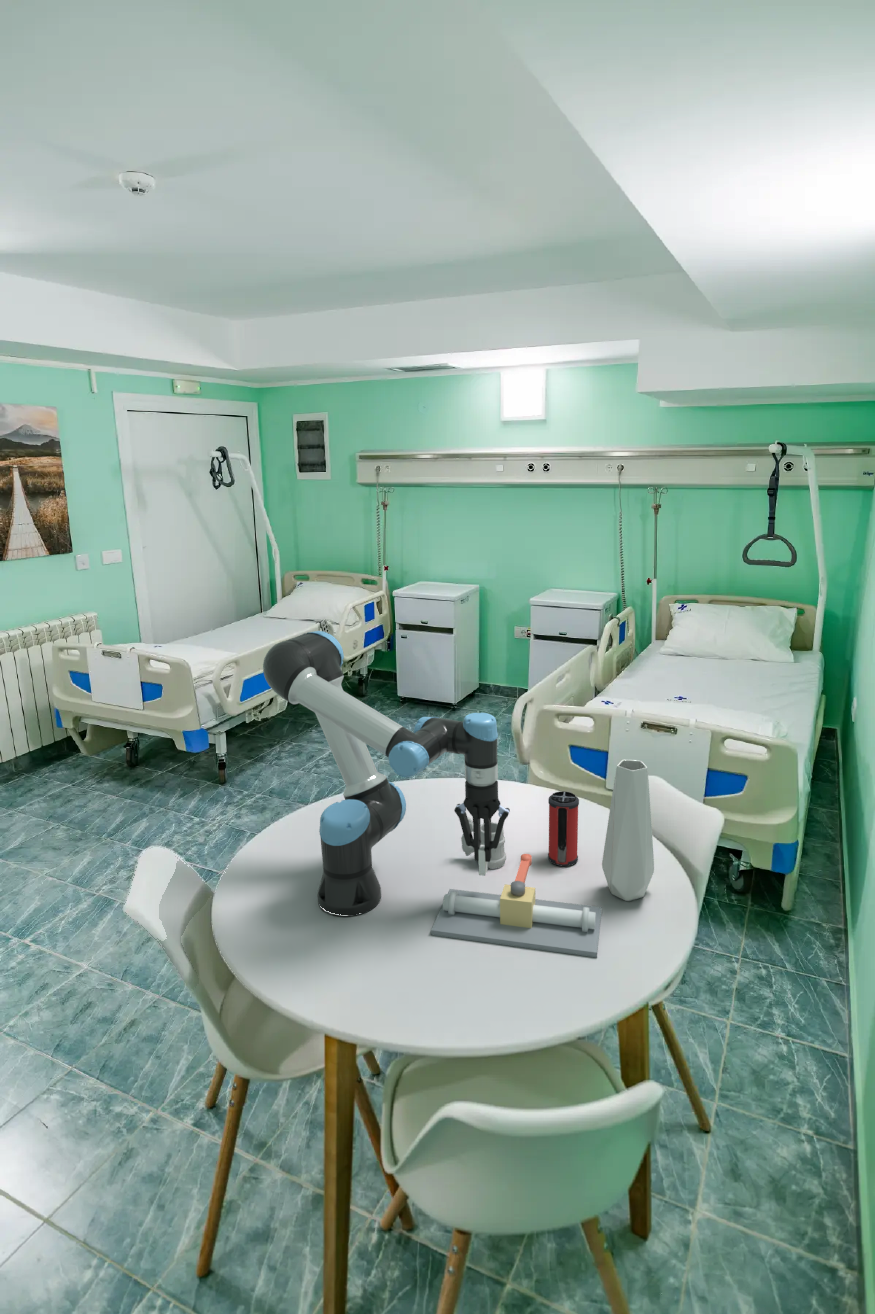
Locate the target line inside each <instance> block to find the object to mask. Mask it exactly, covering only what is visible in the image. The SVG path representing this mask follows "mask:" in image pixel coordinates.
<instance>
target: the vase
mask: <svg viewBox="0 0 875 1314" xmlns="http://www.w3.org/2000/svg"><path fill="white" fill-rule="evenodd" d="M613 781H614V782H613V788H612V795H611V801H610V808H609V814H608V820H607V821H608V822H607V825H606V826H607V827H606V832H605V841H604V848H603V854H602V860H601V861H602V862H601V867H602V871H603V875H604V877H605V880H606V883H607V887H608V889H609V892H610V893H611V895H613V896H615V897H617V898H618V899H620V900H623V901H625V902H632V901H635V900H638V899H641V898H644V897H645V895H646V892H647V890H648V888H649V885H650V883H651V880H652V878H653V875H654V873H655V859H654V845H653V844H654V843H653V842H654V841H653V827H652V814H651V813H652V811H651V801H650V800H651V799H650V798H651V797H650V796H651V795H650V794H651V793H650V782H649V770H648V766H647V765H646V764H645V763H644V762H643V761H642V760H639V759H621V761H619V763H618V764H617V765H616V769H615V774H614V780H613Z"/></svg>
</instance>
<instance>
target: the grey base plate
mask: <svg viewBox="0 0 875 1314" xmlns="http://www.w3.org/2000/svg"><path fill="white" fill-rule="evenodd" d="M602 909H603V907H602V906H598V905H597V906H595V905H588V904H587V905H586V904H581V903H580V904H579V903H571V902H563V901H562V902H561V901H554V900H546V899H537V898H536V887H531V886H530V887H529V886H525V894H524V895H522V896H515V895H513V894H511V884H504V885H503V889H502V891H501V894H497V893H496V894H495V893H487V892H481V891H480V892H479V891H469V890H462V889H455V888H449V890H448V893H445V894H444V895H443V901H442V905H441V908H440V910H439V912H438V913H437V916H436V918H435V921H434V923H433V924H432V927H431V930H430V933H431V936H437V937H445V938H450V939H451V938H452V939H456V940H457V939H459V940H466V941H467V940H468V941H473V942H474V941H475V942H481V943H487V944H495V945H504V946H510V947H511V946H512V947H515V948H516V947H517V948H525V949H531V950H539V951H545V952H546V951H548V952H555V953H560V954H569V955H575V956H583V957H591V958H598V952H599V950H598V949H599V940H600V930H601V921H602V920H601V919H602V918H601V917H602V911H603V910H602Z"/></svg>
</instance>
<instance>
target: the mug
mask: <svg viewBox="0 0 875 1314" xmlns="http://www.w3.org/2000/svg"><path fill="white" fill-rule="evenodd" d="M467 818H468V821H469V825H470V829H471V832H472V833H473V819H471V818H470V817H469V816H467ZM497 825H498V822H492V821H491V836H492V841H493V840H494V837H495V833H496V829H497ZM504 834H505V832H504V828H503V829H502V833H501V837H500V841H499V844H498V846H497V848H496V849H494V848H492V849H491V860H490V862H487V870H489V869H490V870H494V869H495V870H496V869H500V868H502V867H503V866H504V865H505V864H506V860H507V853H506V852H505V843H506V838H505V835H504ZM460 841H461V849H462V851H463V852H464V854H465V856H466V857H469V856H470V855H471V854H474V848H473V847H472V846H467V845H466V842H465V838H464V834H463V833H462V836H461V840H460ZM480 845H485V843H484V822H483V823H481V844H480ZM477 864H479V861H477Z"/></svg>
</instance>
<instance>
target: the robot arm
mask: <svg viewBox="0 0 875 1314" xmlns="http://www.w3.org/2000/svg"><path fill="white" fill-rule="evenodd" d="M344 657H345V655H344V651H343V647H342V644H341V643H340V642H339V641H338V639H337V638H335V637H334V635H332V634H330V633H328V632H326V631H323V630H315V631H310V632H305V633H303V634H300V635H297V636H295V637H292V638H290V639H286V640H283V641H279V642H278V643H276V644H274V645H273V646H272V647H271V648H269V649H268V651H267V653H266V655H265V657H264V659H263V664H262V670H263V671H262V672H263V676H264V678H265V679H264V680H265V681H266V683H267V685H268V686H269V687H270V688H271V689H272V690H273V692H274V693H275V694H276V695H278V696H279V697H280V698H282V699H284V700H285V701H287V702H288V703H290V704H292V705H298V704H299V705H302V707H304V708H306V709H308V710H310V711H312V712H313V713H314V714H315V715H316V718H317V721H318V723H319V725H320V728H321V730H322V732H323V734H324V737H325V740H326V742H327V744H328V747H329V749H330V751H331V754H332V756H333V758H334V760H335V763H336V765H337V767H338V768H337V769H338V770H339V772H340V775H341V777H342V779H343V783H344V784H345V789H344V791H343V795H342V796H343V798H344V799H342V800H341V801H336V802H334V803H331V804H330V805H329V806H327V807H326V808H325V809H324V810H323V811H322V812H321V815H320V818H319V831H318V832H319V835H320V846H321V859H322V871H323V873H322V876H321V880H320V884H319V886H318V890H317V903H318V902H319V904H320V906H321V907H322V908H324V909H325V910H326V911H329V912H331V913H335V914H339V915H340V914H341V915H355V916H357V915H356V914H359V913H363V914H365V912H366V913H368V912H369V911H372V910H373V909H374V908H376V907H377V906H378V905H379V904H380V902H381V898H382V887H381V884H380V882H379V880H378V879H379V878H377V875H376V873H375V870H374V867H373V861H372V860H373V856H372V849H373V847H374V846H375V845H377V844H378V843H379V842H380V841H381V840H382V839H384V838H385V837H386V836H387V835H388V834H389V833H391V832H392V831H394V830H395V829H396V828H397V827H398V826H399V824H400V823H401V822H402V821H403V819H404V817H405V815H406V812H407V801H406V797H405V795H404V792H403V791H402V789H401V788H400V787H399V786H397V785H395V783H393V782H391V781H388V778H387V775H385V774H383V773H380V772H378V770H377V768H376V765H375V762H374V760H373V757H372V755H371V753H370V751H369V749H368V746H369V747H370V748H372V749H373V750H375V751H377V752H379V753H380V754H382V755H384V756H385V757H387V758H388V763H389V764H388V765H389V766H390V768H391V769H392V770H393V772H394V773H395V774H396V775H397V776H399V777H404V778H411V777H413V776H416V775H417V774H420V773H421V772H423V771H424V770H426V768H427V767H429V765H430V764H431V763H433V762H434V761H436V760H437V759H438V758H440V757H442V756H443V754H445V753H450V754H457V755H463V756H464V757H463V758H464V779H465V781H464V787H465V788H464V790H465V791H464V792H465V793H464V794H465V798H464V800H463V801H462V803H457V804H456V806H455V808H454V813H455V814H456V815H457V817H458V821H459V824H460V827H461V831H462V835H463V834H464V838H465V842H466V845H467V846H472V847H473V848H474V852H473V856H474V860H475V861H476V862H478V861H479V863H478V875H479V876H482V877H484V876H486V875H487V872H488V869H487V862H490V860H491V849H492V848H494V849H496V848H497V846H498V844H499V841H500V837H501V833H502V829H503V830H504V824H505V820H506V819H507V818H508V816H509V815H510V812H511V811H510V808H509V807H506V808H505V807H504V806H502V805H501V801H500V799H499V781H498V778H499V771H498V770H499V769H498V768H499V766H498V765H499V764H498V736H499V734H498V726H497V724H498V723H497V718H496V717H495V716H494V715H492V714H491V713H487V712H473V713H472V712H471V713H469V714H467V715H465V716H464V718H463V720H455V719H448V718H441V717H438V716H422V717H420V718H419V719H418V720H417V721H416V723H415V725H414V728H413V731H412V730H410V729H408V728H406V727H404V726H403V725H401V724H399V723H398V722H396V721H395V720H392V719H391V718H389V717H388V716H386V715H384V714H383V713H381V712H379V710H378V711H377V710H376V709H374V708H372V707H371V706H369V705H368V704H366V703H364V702H362V701H361V700H359V699H357V698H356V697H354V696H353V695H351V694H349V693H348V692H346V691H344V689H343V686H342V682H343V680H344V677H345V676H344V673H343V671H342V669H341V668H342V666H343V664H344ZM497 811H498V813H497ZM467 812H468V813H469V814H470V816H471V817H472V821H473V832H471V829H470V825H469V821H468V815H467ZM495 813H497V815H498V817H499V819H498V822H497V823H498V825H497V829H496V833H495V837H494V840H493V841H492V836H491V822H492V817H493V816H494V815H495ZM481 819H482V820H483V823H484V843H485V845H480V844H481V824H482V823H481ZM319 904H318V905H319ZM320 906H319V907H320ZM367 911H368V912H367Z"/></svg>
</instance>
